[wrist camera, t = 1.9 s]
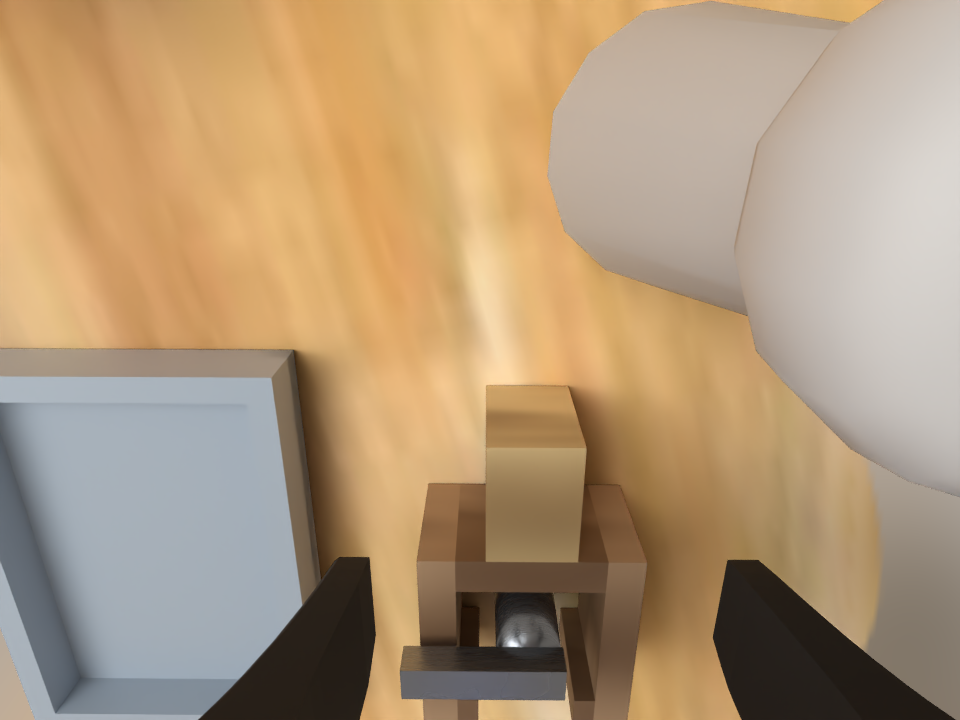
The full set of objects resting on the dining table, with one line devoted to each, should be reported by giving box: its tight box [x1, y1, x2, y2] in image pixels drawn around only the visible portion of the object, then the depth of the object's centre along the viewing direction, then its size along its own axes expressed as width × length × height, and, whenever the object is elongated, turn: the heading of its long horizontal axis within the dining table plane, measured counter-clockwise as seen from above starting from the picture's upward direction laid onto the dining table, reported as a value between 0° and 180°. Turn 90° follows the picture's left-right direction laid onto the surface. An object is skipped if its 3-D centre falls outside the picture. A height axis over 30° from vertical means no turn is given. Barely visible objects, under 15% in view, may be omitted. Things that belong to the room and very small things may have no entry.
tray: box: [0, 349, 321, 720], centre depth 19 cm, size 13×10×2 cm
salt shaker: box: [548, 0, 960, 497], centre depth 10 cm, size 6×6×13 cm
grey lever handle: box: [400, 592, 567, 700], centre depth 18 cm, size 3×5×5 cm, turn 90°
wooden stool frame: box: [417, 386, 647, 720], centre depth 18 cm, size 9×6×4 cm, turn 0°
